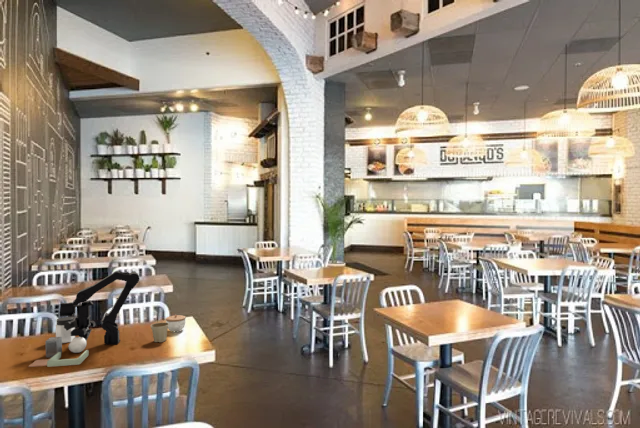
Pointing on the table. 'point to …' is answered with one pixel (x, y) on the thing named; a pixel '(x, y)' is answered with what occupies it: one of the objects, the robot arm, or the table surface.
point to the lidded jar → (176, 322)
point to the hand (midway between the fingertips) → (83, 344)
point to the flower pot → (159, 331)
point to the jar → (62, 331)
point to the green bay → (66, 360)
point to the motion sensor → (77, 345)
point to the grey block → (53, 346)
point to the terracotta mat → (39, 363)
